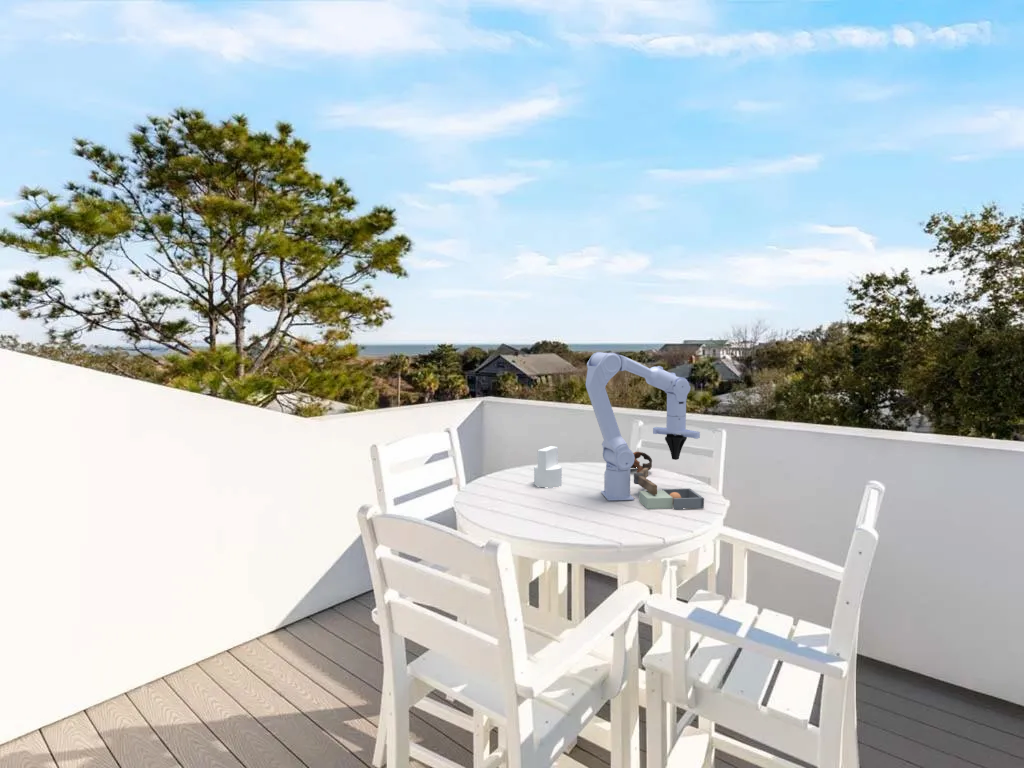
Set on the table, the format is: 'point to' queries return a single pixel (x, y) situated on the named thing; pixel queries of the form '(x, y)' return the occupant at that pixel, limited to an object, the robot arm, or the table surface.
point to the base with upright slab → (548, 468)
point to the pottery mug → (648, 465)
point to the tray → (686, 499)
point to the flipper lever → (645, 481)
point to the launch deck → (656, 499)
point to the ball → (675, 495)
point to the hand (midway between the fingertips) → (675, 459)
